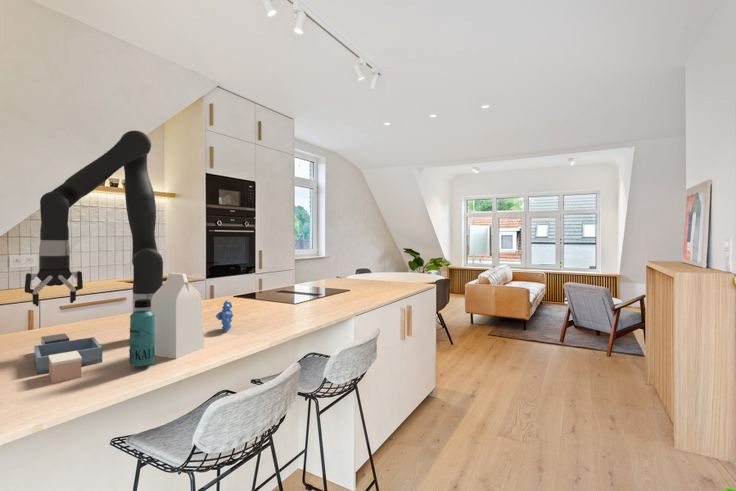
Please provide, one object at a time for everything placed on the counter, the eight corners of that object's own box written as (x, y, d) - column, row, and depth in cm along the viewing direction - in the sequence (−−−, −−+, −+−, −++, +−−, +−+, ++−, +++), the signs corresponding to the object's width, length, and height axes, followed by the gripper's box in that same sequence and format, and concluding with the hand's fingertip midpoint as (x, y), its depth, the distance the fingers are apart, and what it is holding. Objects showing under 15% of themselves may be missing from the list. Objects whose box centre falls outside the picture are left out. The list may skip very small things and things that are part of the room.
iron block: (64, 347, 125) (64, 333, 125) (69, 353, 119) (69, 338, 119) (41, 351, 120) (41, 336, 120) (44, 357, 115) (44, 341, 115)
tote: (93, 350, 122) (93, 337, 122) (102, 362, 112) (102, 347, 111) (34, 360, 112) (34, 345, 112) (37, 374, 101) (37, 358, 101)
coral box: (77, 369, 106) (77, 350, 106) (81, 377, 100) (81, 357, 100) (48, 375, 101) (48, 355, 101) (51, 384, 96) (51, 363, 95)
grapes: (217, 327, 155) (217, 298, 154) (234, 326, 157) (234, 298, 156) (213, 334, 144) (213, 303, 143) (232, 333, 145) (232, 303, 145)
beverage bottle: (136, 363, 111) (136, 297, 110) (159, 363, 111) (159, 297, 111) (124, 371, 104) (123, 301, 104) (148, 371, 105) (148, 301, 104)
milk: (148, 354, 120) (148, 274, 119) (177, 344, 130) (177, 271, 130) (176, 359, 115) (176, 276, 115) (204, 348, 126) (204, 272, 125)
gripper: (80, 253, 127) (80, 300, 127) (24, 254, 117) (24, 305, 117) (84, 254, 121) (84, 303, 122) (25, 255, 111) (25, 308, 112)
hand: (54, 304), depth 119 cm, fingers open, 8 cm apart
